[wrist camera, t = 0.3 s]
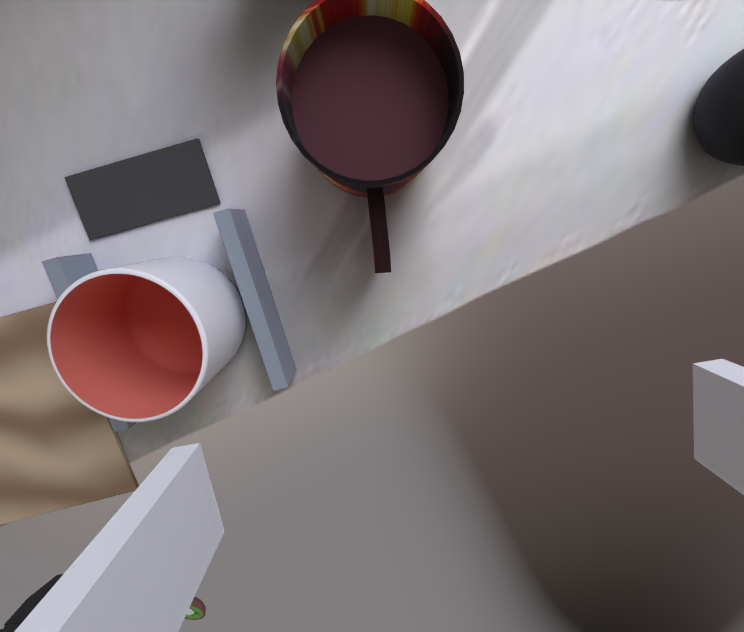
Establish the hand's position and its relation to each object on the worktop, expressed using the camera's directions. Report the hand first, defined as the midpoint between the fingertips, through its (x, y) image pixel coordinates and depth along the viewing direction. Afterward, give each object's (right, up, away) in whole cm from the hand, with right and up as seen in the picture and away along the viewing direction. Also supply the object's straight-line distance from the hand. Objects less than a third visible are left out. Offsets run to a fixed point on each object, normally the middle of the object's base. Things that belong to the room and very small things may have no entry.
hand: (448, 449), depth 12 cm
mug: (-1, +16, +23) cm, 28 cm away
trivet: (-32, -6, +27) cm, 43 cm away
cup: (-17, +4, +26) cm, 31 cm away
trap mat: (-20, +13, +23) cm, 34 cm away
